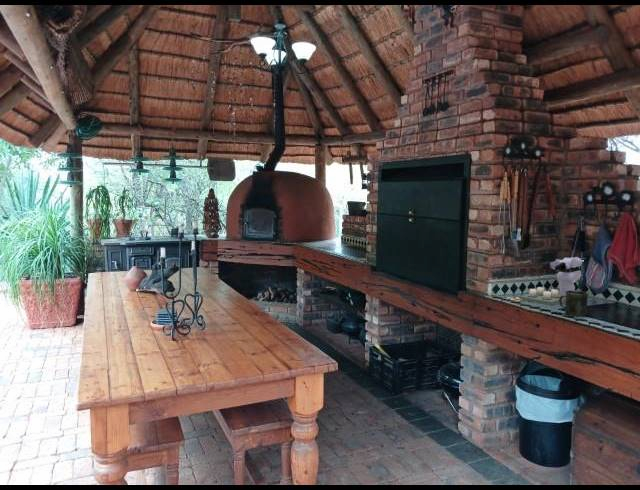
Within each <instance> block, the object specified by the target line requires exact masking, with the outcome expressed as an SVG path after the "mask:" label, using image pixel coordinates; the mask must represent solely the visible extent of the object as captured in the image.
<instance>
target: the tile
mask: <svg viewBox="0 0 640 490" xmlns="http://www.w3.org/2000/svg"><path fill="white" fill-rule="evenodd" d="M519 297H520V296H519ZM519 297H517V296H509V297H506V298H507V299H506V300H508V299H510V300H509V301H513V300H514V302H521V301H524V300H523V299H519Z"/></svg>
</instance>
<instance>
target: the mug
mask: <svg viewBox="0 0 640 490" xmlns="http://www.w3.org/2000/svg"><path fill="white" fill-rule="evenodd" d="M565 292H566V296H561V297H560V298H559V303H558V304H559V305H560V307H561V308H562V309H564V310H565V312H564V313H565V314H567V315H569V316H576V317H577V316H578V317H584V316H587V313H588V312H587V311H588V310H587V309H588V295H589V292H587V291H583V290H569V291H565ZM564 297H566V301H565V306H564V305H563V302H561V299H562V298H564Z"/></svg>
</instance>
